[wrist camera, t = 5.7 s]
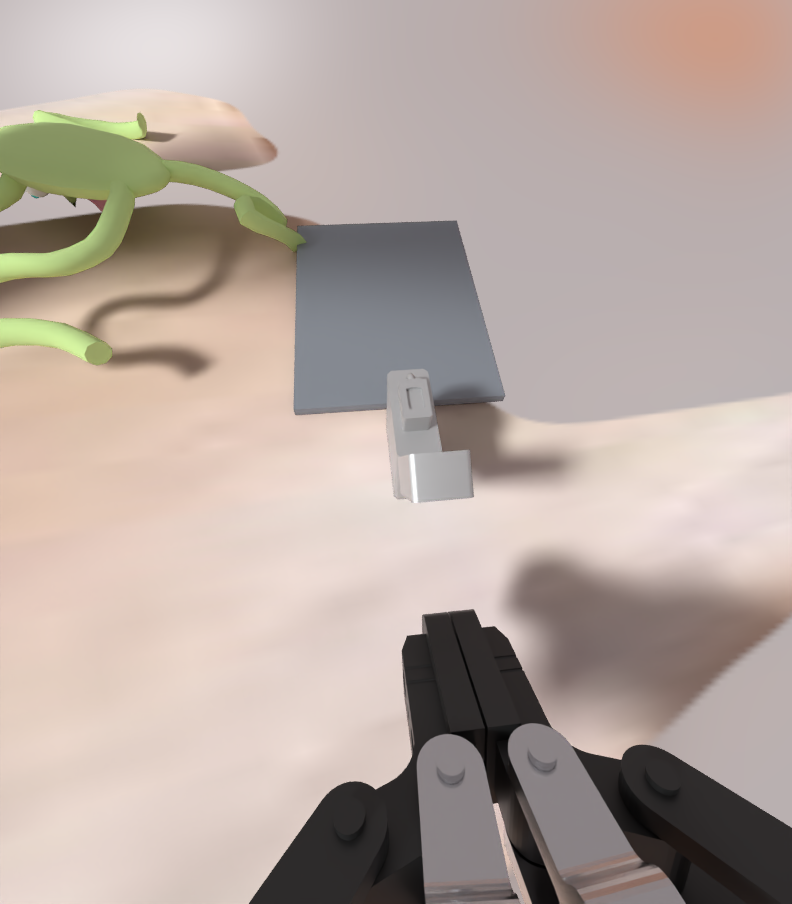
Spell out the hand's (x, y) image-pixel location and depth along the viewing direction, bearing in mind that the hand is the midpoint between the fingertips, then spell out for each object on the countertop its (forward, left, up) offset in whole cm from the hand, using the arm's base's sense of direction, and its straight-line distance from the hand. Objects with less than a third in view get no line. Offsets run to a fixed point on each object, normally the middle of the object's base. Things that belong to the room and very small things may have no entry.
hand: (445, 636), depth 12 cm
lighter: (0, +7, -5) cm, 8 cm away
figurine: (-18, +26, -5) cm, 32 cm away
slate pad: (0, +19, -5) cm, 19 cm away
